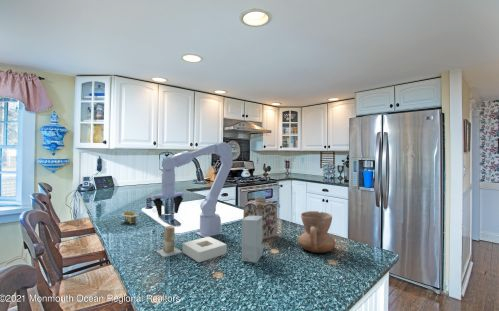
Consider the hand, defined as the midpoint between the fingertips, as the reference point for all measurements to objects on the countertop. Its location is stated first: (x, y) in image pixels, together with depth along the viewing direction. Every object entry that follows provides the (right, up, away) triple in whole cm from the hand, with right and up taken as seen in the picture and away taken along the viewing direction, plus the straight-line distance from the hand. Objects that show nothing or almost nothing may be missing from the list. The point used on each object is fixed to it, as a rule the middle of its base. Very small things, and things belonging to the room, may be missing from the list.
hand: (167, 214), depth 111 cm
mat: (+6, -11, -17) cm, 21 cm away
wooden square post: (+6, -10, -17) cm, 21 cm away
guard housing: (+20, -11, -17) cm, 28 cm away
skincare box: (+38, -11, -21) cm, 45 cm away
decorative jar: (+42, -11, +4) cm, 44 cm away
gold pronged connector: (-28, -11, +22) cm, 37 cm away
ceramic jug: (+64, -12, -12) cm, 66 cm away
